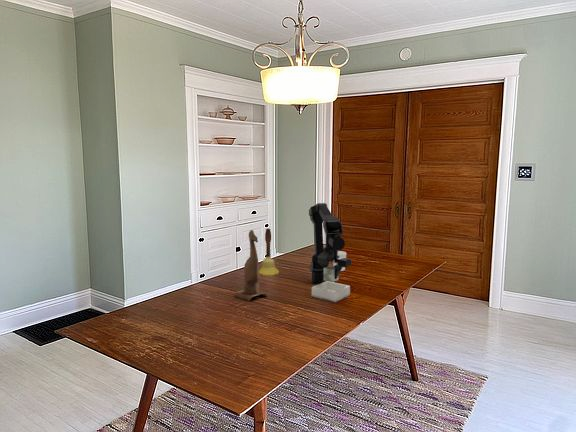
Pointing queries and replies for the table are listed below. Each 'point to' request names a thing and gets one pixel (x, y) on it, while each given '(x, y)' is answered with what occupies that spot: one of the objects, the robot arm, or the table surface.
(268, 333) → the table surface
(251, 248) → the bird sculpture
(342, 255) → the white cup
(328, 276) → the mint block
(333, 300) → the bin
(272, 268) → the handbell
